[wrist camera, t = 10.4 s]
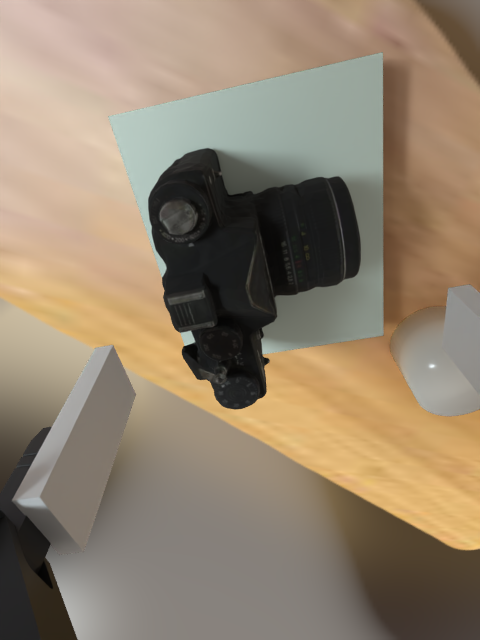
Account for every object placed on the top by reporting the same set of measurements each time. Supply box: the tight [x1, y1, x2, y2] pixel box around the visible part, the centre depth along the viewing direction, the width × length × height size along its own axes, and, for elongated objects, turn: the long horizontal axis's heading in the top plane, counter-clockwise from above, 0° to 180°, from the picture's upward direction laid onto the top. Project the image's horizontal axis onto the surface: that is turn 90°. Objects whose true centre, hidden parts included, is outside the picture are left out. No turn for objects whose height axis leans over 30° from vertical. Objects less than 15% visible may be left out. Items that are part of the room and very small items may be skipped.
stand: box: [108, 52, 383, 354], centre depth 28 cm, size 19×16×3 cm
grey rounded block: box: [390, 306, 480, 416], centre depth 32 cm, size 7×7×6 cm
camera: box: [148, 148, 361, 409], centre depth 22 cm, size 14×11×10 cm
